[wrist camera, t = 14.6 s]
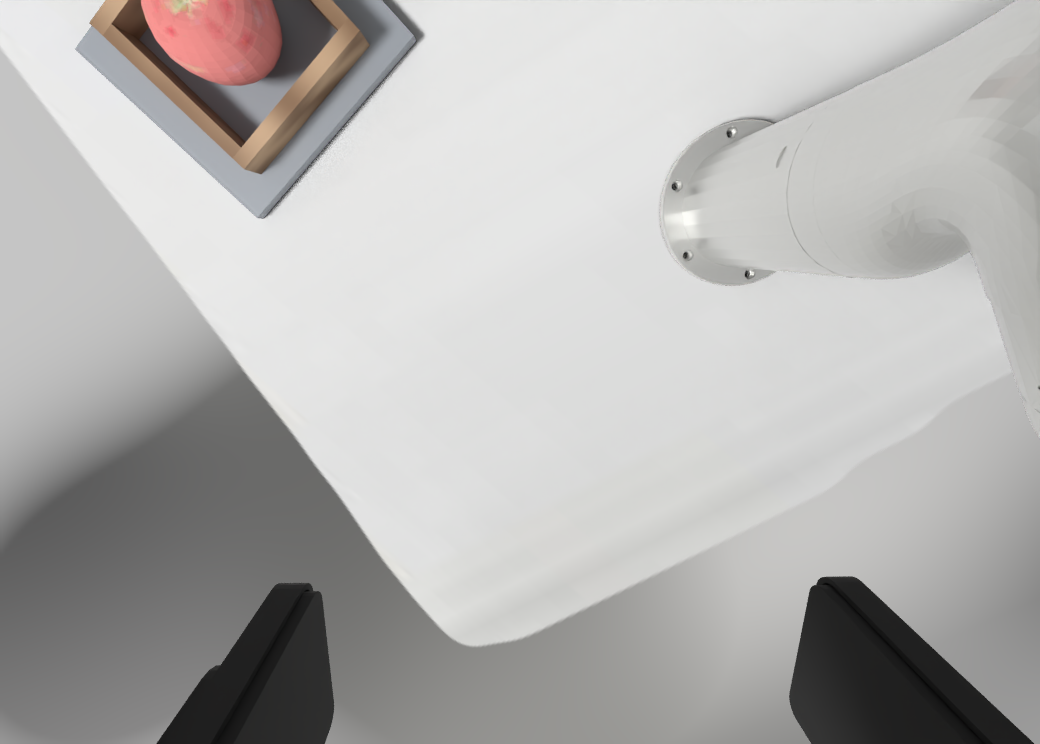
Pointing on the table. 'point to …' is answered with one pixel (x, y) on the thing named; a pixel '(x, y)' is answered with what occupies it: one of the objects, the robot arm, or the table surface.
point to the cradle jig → (255, 89)
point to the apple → (218, 37)
